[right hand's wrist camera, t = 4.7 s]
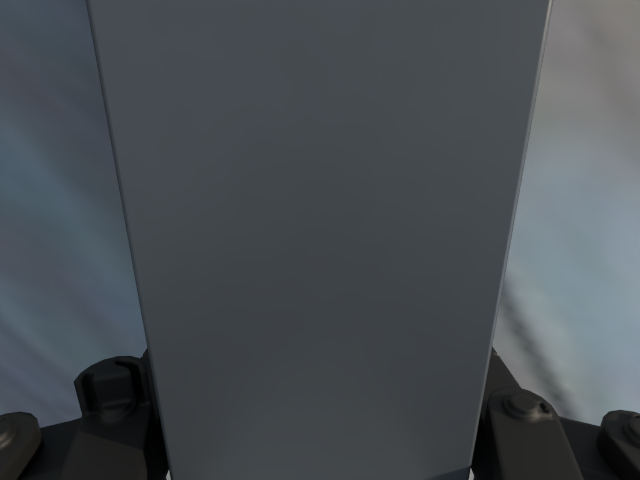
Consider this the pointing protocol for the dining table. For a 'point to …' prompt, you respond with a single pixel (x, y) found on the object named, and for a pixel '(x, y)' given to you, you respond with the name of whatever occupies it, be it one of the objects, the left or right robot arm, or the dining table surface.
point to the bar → (319, 222)
